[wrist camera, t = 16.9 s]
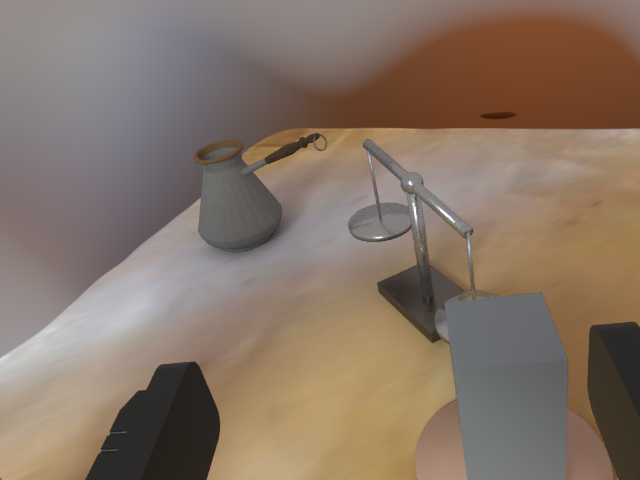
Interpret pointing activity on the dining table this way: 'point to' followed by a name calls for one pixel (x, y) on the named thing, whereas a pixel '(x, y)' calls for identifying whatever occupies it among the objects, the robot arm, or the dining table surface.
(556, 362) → the grey rectangular block
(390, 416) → the dining table surface
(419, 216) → the tipped balance
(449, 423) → the terracotta dish
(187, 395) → the robot arm
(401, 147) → the dining table surface
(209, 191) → the coffee pot
